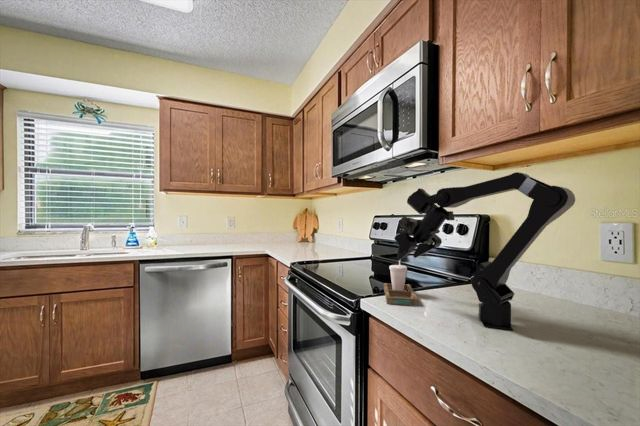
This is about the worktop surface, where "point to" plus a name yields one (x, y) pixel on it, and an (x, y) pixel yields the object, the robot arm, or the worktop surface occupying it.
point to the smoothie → (398, 276)
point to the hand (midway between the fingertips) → (406, 258)
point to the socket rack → (400, 295)
